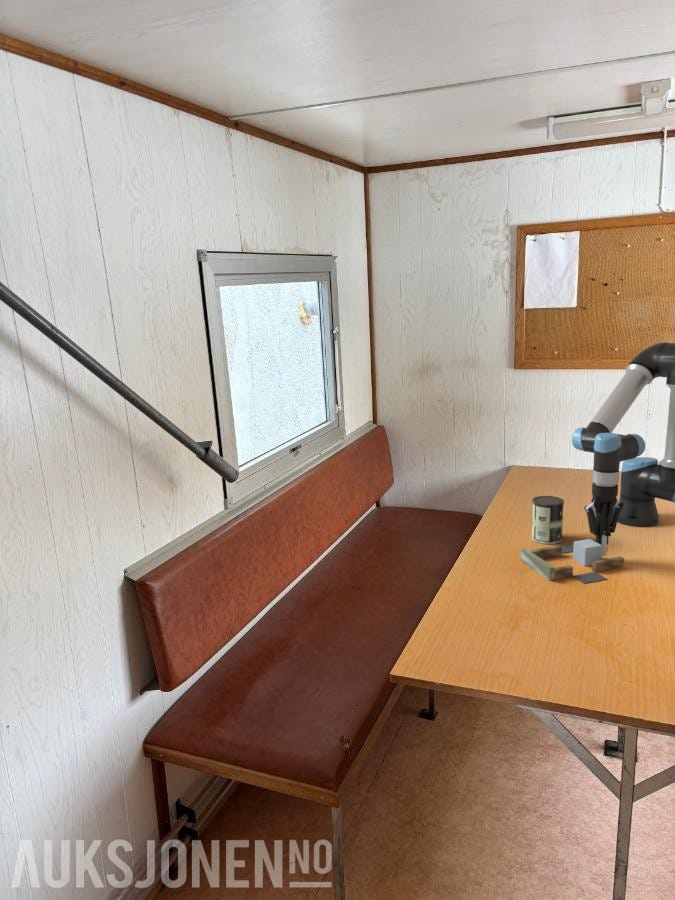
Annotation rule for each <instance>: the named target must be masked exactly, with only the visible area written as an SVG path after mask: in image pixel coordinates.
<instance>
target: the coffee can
mask: <svg viewBox="0 0 675 900" xmlns="http://www.w3.org/2000/svg"><path fill="white" fill-rule="evenodd" d="M531 502H532V512H531V513H532V517H531V539H532V540H533V541H534V542H535V543H539V544H542V545H543V544H544V545H555V544H560V543H561V542H562V541H563V521H564V504H565V499H563V498H561V497H557V496H552V495H539V496H534V497H533V498H532V499H531Z"/></svg>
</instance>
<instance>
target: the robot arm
mask: <svg viewBox="0 0 675 900" xmlns="http://www.w3.org/2000/svg"><path fill="white" fill-rule="evenodd" d="M657 378H666V381H665V384H666V386H667V387H668V388H669V389H670V393H669V402H668V404H669V405H668V416H667V424H666V425H667V426H666V436H665V437H666V438H665V449H664V456H663V457H664V458H662V459H661V460H659V461H658V459H657V458H655V457H648V456H646V457H645V456H644V457H643V456H642V457H639V456H641V455H643V453H645V450H646V442H645V440H644V438H643V437H642V436H641V435H639V434H636V433H628V434H620V433H615V432H614V430H615V428H616V427H617V426H618V424H620V422H621V420H622V419H623V417H624V416H625V415H626V413H627V412H628V410H629V409H630V408H631V407H632V405H633V404H634V402H635V401H636V399H637V398H638V396H639V395H640V394H641V392H642V391H643V390H644V389H645V386H647V385H650V384H652V382H653V381H654V380H655V379H657ZM613 432H614V433H613ZM571 445H572V446H573V448H575V449H576V450H579V451H582V452H585V453H587V452H588V453H592V454H593V468H592V482H593V483H592V484H591V495H592V498H591V500H590V501H591V503H589V504H588V505H585V506H584V508H583V509H584V510H585V513H586V515H587V521H588V526H589V532H590V534H592V535H593V536H595V542H597V543H599V544H600V545H602V557H604V556H606V555H607V545H608V544H609V539H610V538H609V537H611V536H612V534H615V532H616V528H617V524H618V523H619V524H623V525H626V526H631V527H642V528H643V527H652V526H656V525H657V524H658V523H659V519H660V515H659V513H658V512H659V511H658V508H657V505H656V498H657V499H660V500H665V501H668V502H672V503H674V504H675V342H659V343H655V344H653V345H650V346H648V347H646V348H645V349H643V350H642V351H640V352H639V353H638V354H637V355H636V356H634V357H633V358H632V360H630V362H629V363H628V364H627V366H626V367H625V372H624V375H623V377H621V379H620V381H619V382H618V384H616V386H615V388H614V389H613V390H612V392H611V393H610V394H609V396H608V397H607V399H606V400H605V401H604V402H603V404H602V406H601V407H600V408H599V410H598V411H597V413H596V414H595V415H594V416H593V418H592V419H591V421H590V422H589V423H588V425H587V426H586V427H584V426H583V427H578V428H576V429H575V430H574V431H573V433H572V436H571ZM621 462H622V465H621ZM620 465H621V471H620ZM620 475H621V476H620ZM619 480H620V481H619ZM619 482H620V491H619V485H618V484H619ZM618 495H619V499H618V498H617V497H618Z"/></svg>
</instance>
